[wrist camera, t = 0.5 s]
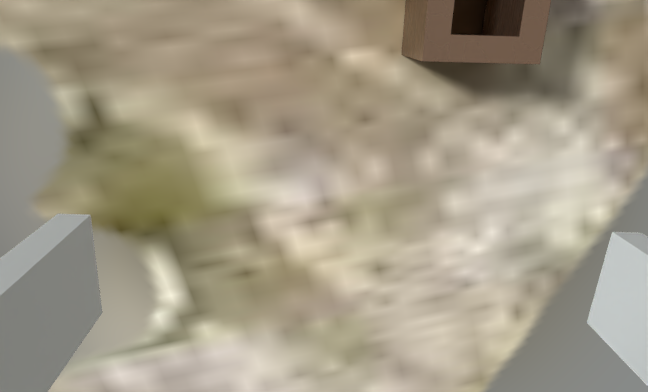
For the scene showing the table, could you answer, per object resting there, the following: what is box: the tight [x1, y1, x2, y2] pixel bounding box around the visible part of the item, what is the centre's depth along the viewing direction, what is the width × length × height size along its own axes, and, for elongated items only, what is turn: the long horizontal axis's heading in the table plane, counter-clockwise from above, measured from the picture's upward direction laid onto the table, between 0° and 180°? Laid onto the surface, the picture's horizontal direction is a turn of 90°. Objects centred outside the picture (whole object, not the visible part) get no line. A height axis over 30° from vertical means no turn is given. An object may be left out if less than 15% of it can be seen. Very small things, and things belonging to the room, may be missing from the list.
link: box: [402, 0, 551, 64], centre depth 29 cm, size 7×7×6 cm
